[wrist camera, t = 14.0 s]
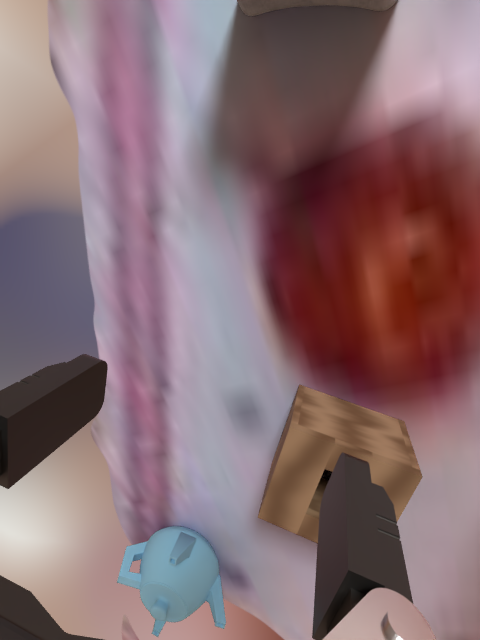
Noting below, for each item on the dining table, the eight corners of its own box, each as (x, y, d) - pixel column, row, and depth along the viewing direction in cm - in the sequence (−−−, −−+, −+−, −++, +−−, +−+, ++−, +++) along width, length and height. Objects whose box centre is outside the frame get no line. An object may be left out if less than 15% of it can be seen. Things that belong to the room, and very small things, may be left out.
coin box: (404, 421, 43) (422, 476, 34) (365, 499, 48) (371, 566, 39) (299, 384, 46) (290, 427, 37) (272, 462, 51) (257, 517, 41)
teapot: (198, 508, 58) (170, 569, 48) (242, 576, 59) (222, 648, 49) (135, 526, 63) (97, 583, 53) (176, 587, 65) (147, 653, 55)
